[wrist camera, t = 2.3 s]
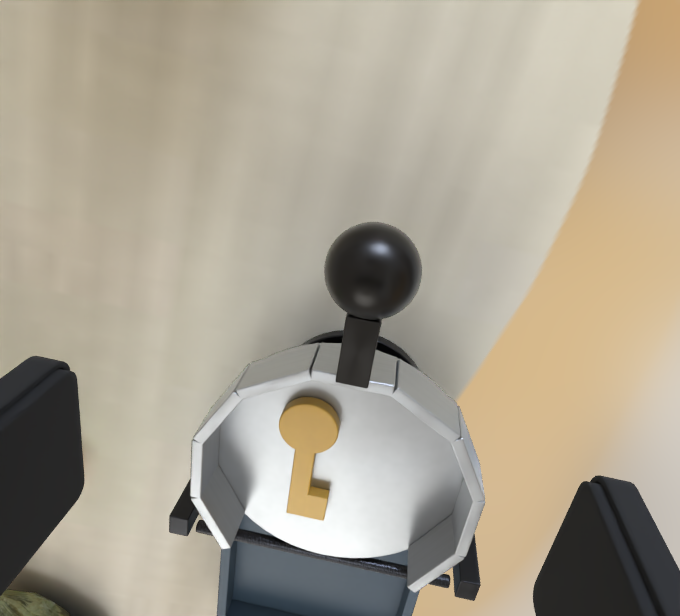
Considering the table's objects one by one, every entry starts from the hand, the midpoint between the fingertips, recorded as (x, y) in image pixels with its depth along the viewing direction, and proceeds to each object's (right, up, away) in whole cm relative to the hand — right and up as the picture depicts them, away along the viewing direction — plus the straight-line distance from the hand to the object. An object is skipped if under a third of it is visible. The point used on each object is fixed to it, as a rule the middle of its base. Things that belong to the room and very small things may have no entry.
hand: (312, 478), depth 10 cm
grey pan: (+1, -1, +13) cm, 14 cm away
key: (-1, -4, +14) cm, 15 cm away
